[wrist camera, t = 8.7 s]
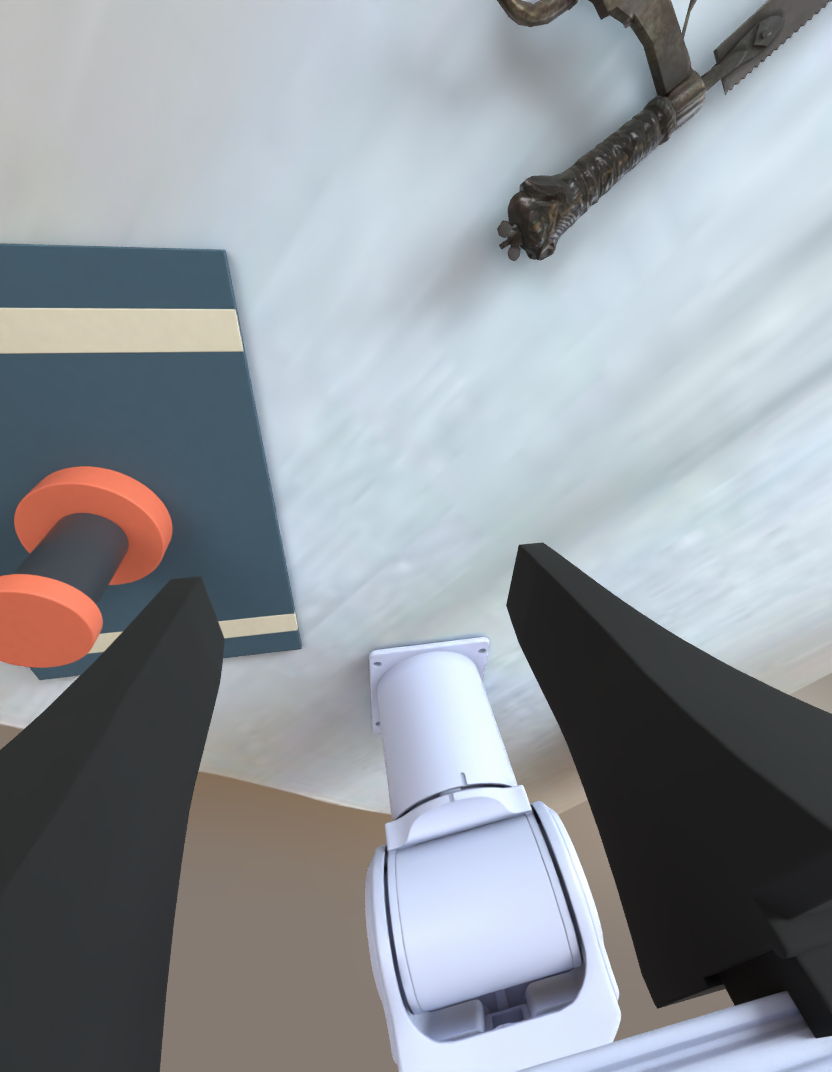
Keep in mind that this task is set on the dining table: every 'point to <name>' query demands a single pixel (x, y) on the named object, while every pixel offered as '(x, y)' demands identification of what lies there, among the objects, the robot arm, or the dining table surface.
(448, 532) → the dining table surface
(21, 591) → the orange thread spool
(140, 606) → the tea towel
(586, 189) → the hacksaw
